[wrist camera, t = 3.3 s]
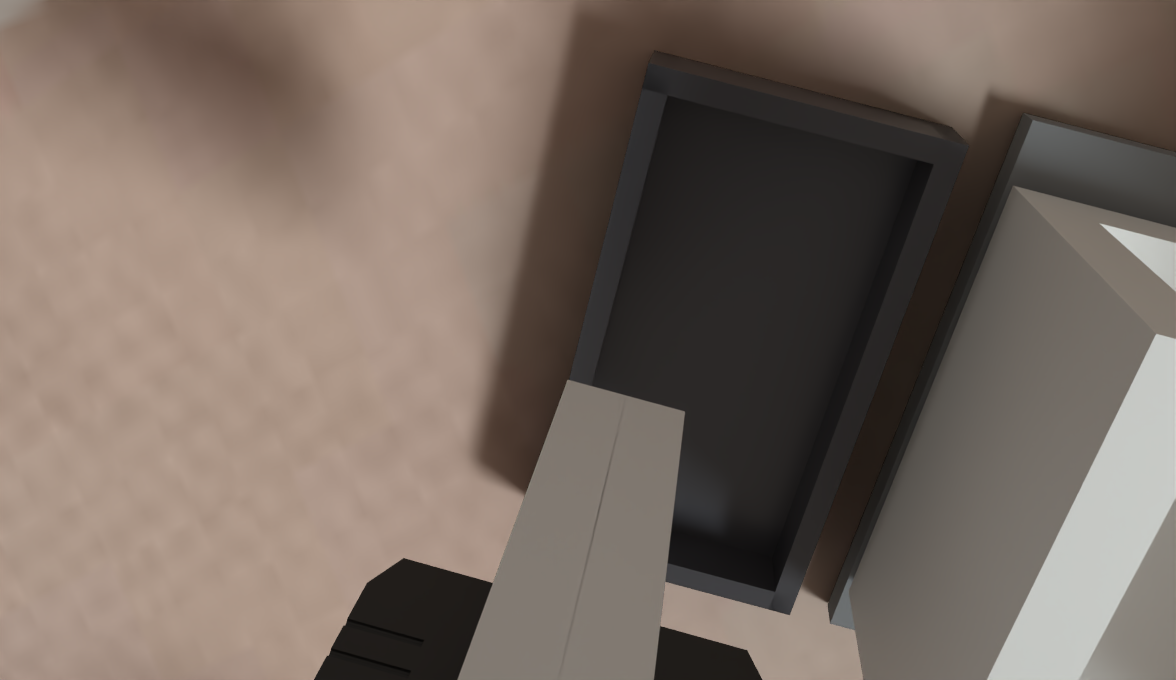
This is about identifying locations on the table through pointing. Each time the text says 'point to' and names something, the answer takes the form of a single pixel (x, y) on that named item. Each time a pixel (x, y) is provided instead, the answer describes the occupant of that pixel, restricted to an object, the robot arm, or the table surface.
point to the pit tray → (759, 301)
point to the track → (1034, 162)
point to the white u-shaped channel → (1039, 468)
